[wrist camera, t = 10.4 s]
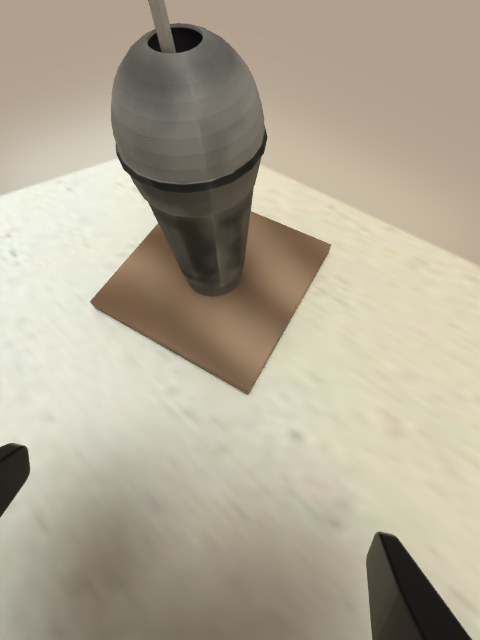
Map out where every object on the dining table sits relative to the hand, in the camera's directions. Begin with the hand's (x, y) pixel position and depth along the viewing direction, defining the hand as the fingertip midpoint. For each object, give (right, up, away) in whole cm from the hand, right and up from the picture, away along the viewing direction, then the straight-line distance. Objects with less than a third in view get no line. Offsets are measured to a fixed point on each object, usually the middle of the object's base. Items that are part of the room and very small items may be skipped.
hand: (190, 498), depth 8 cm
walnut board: (-1, +8, +19) cm, 20 cm away
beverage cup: (-1, +8, +18) cm, 20 cm away
